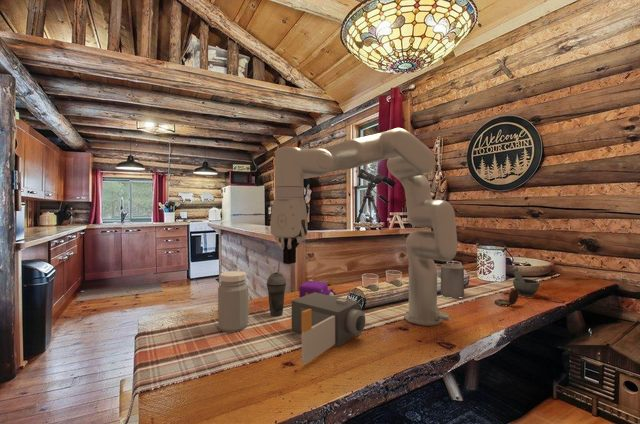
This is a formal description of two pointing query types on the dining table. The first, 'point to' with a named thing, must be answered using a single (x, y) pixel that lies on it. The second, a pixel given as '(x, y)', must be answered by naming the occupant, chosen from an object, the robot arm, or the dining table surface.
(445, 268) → the grey canister
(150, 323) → the dining table surface
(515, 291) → the compass
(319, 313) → the camera body
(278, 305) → the beverage cup
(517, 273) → the mortar and pestle
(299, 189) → the robot arm
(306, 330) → the door
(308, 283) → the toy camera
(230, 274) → the jar
